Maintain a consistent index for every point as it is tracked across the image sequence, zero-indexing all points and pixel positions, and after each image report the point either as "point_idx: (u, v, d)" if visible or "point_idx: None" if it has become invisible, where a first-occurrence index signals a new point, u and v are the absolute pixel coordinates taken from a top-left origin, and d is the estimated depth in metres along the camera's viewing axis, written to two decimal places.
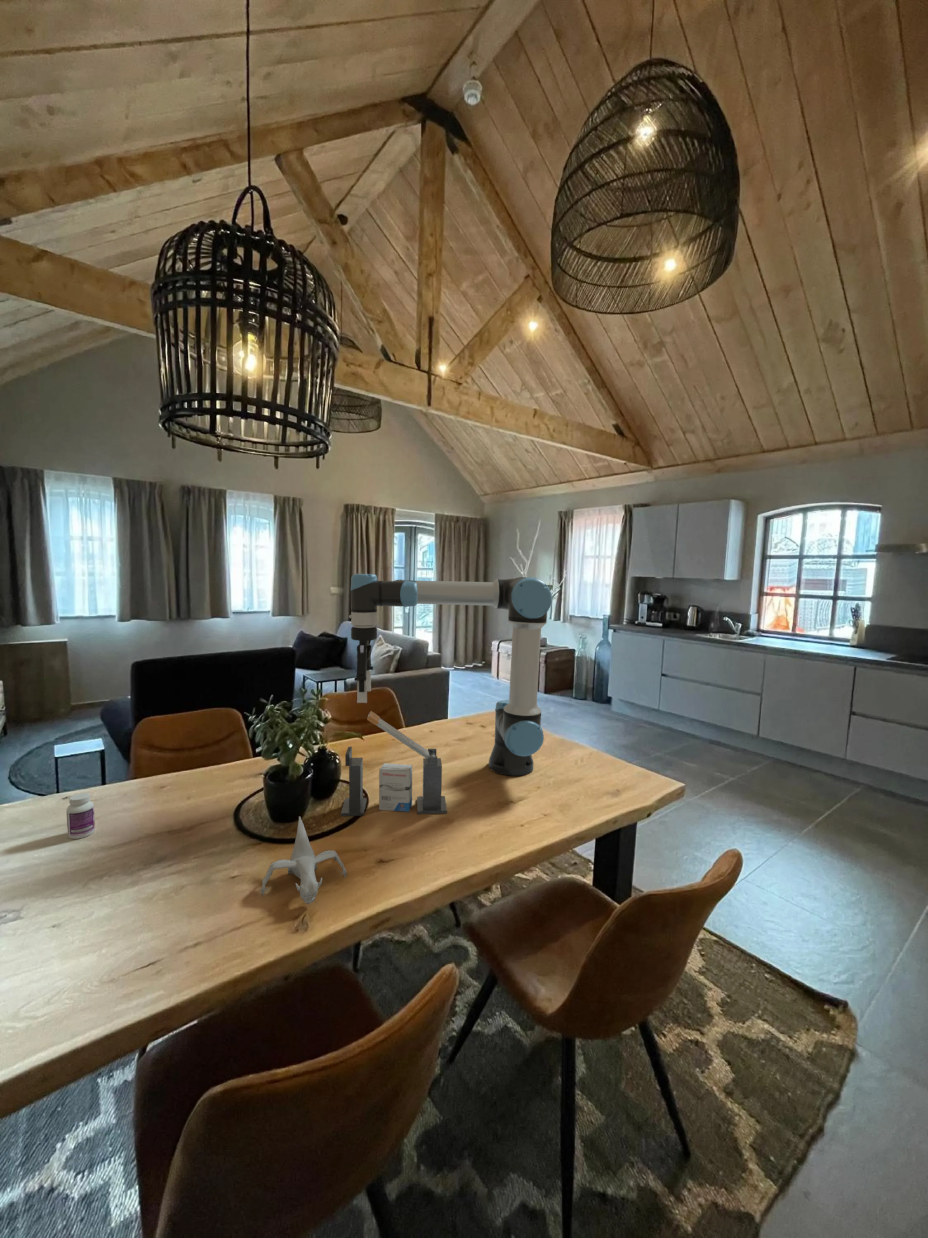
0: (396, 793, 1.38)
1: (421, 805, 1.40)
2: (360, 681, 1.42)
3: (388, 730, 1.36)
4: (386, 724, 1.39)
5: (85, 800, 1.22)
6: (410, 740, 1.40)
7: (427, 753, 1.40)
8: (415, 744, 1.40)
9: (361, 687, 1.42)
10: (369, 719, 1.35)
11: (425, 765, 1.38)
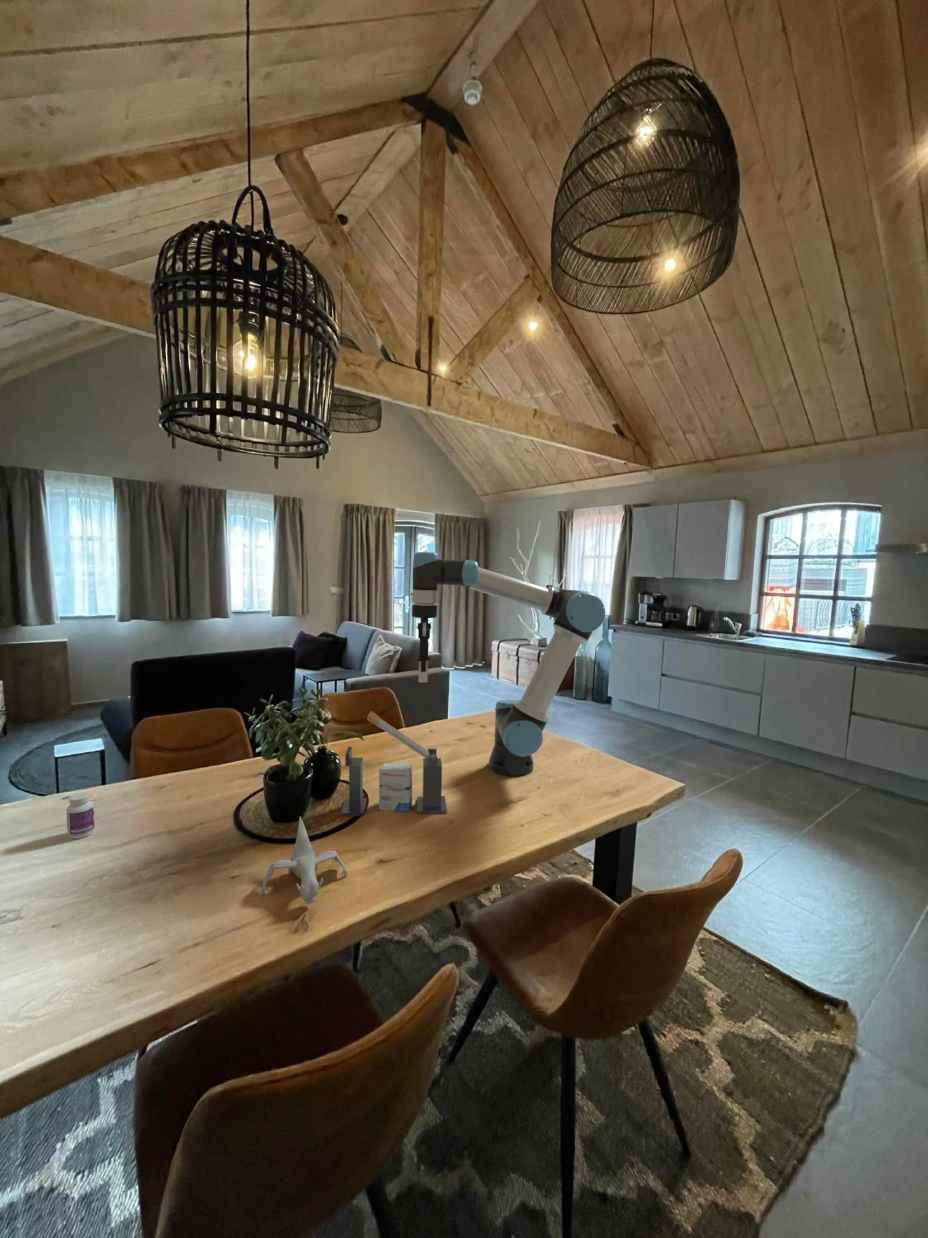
0: (396, 793, 1.38)
1: (421, 805, 1.40)
2: (422, 661, 1.50)
3: (388, 730, 1.36)
4: (386, 724, 1.39)
5: (85, 800, 1.22)
6: (410, 740, 1.40)
7: (427, 753, 1.40)
8: (415, 744, 1.40)
9: (423, 667, 1.50)
10: (369, 719, 1.35)
11: (425, 765, 1.38)
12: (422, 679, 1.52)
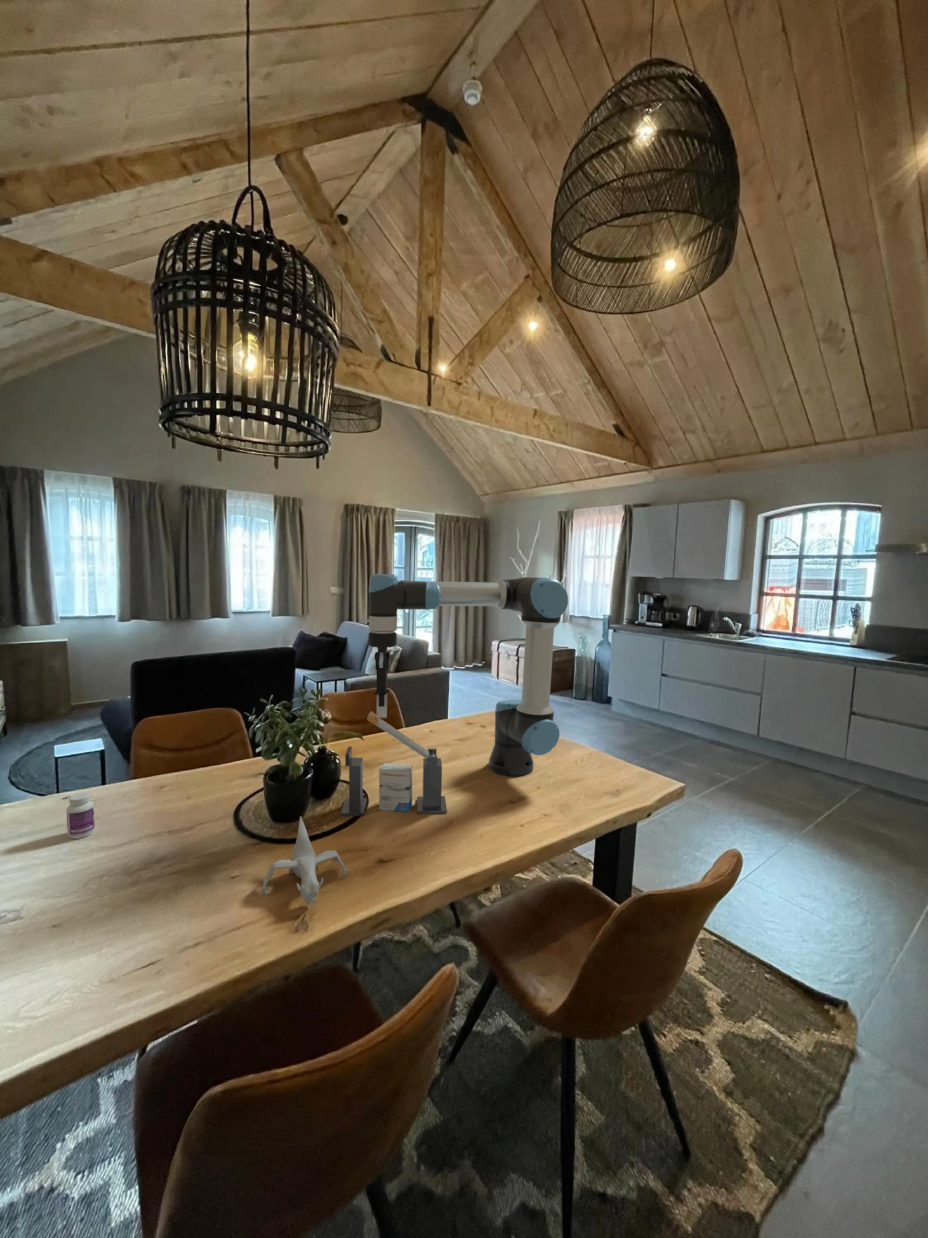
0: (396, 793, 1.38)
1: (421, 805, 1.40)
2: (380, 695, 1.35)
3: (388, 730, 1.36)
4: (386, 724, 1.39)
5: (85, 800, 1.22)
6: (410, 740, 1.40)
7: (427, 753, 1.40)
8: (415, 744, 1.40)
9: (381, 701, 1.36)
10: (369, 719, 1.35)
11: (425, 765, 1.38)
12: (381, 714, 1.37)
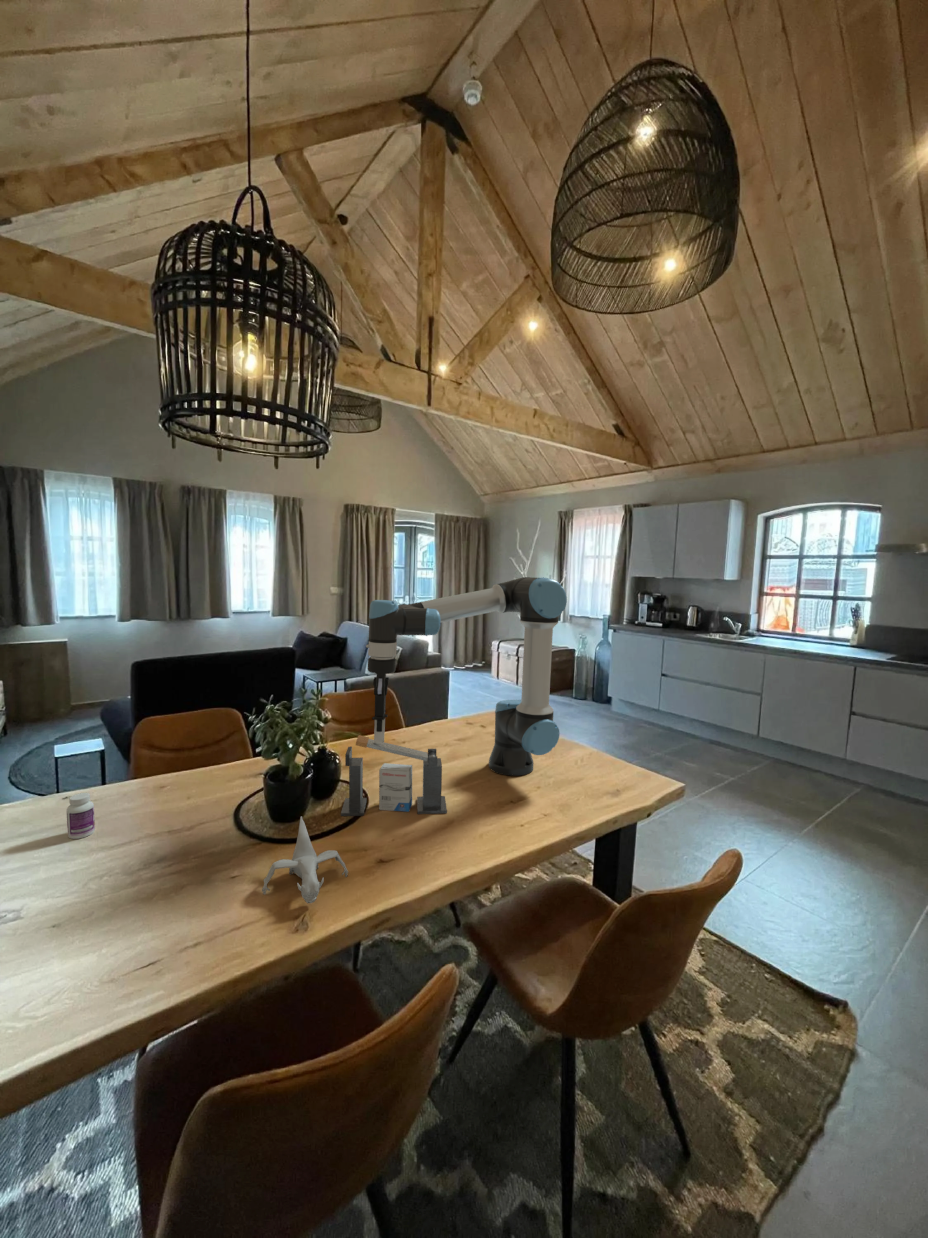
0: (396, 793, 1.38)
1: (421, 805, 1.40)
2: (378, 720, 1.36)
3: (379, 747, 1.37)
4: None
5: (85, 800, 1.22)
6: (405, 749, 1.40)
7: (425, 755, 1.40)
8: (411, 751, 1.40)
9: (379, 727, 1.36)
10: (357, 744, 1.36)
11: (425, 765, 1.38)
12: (378, 739, 1.38)
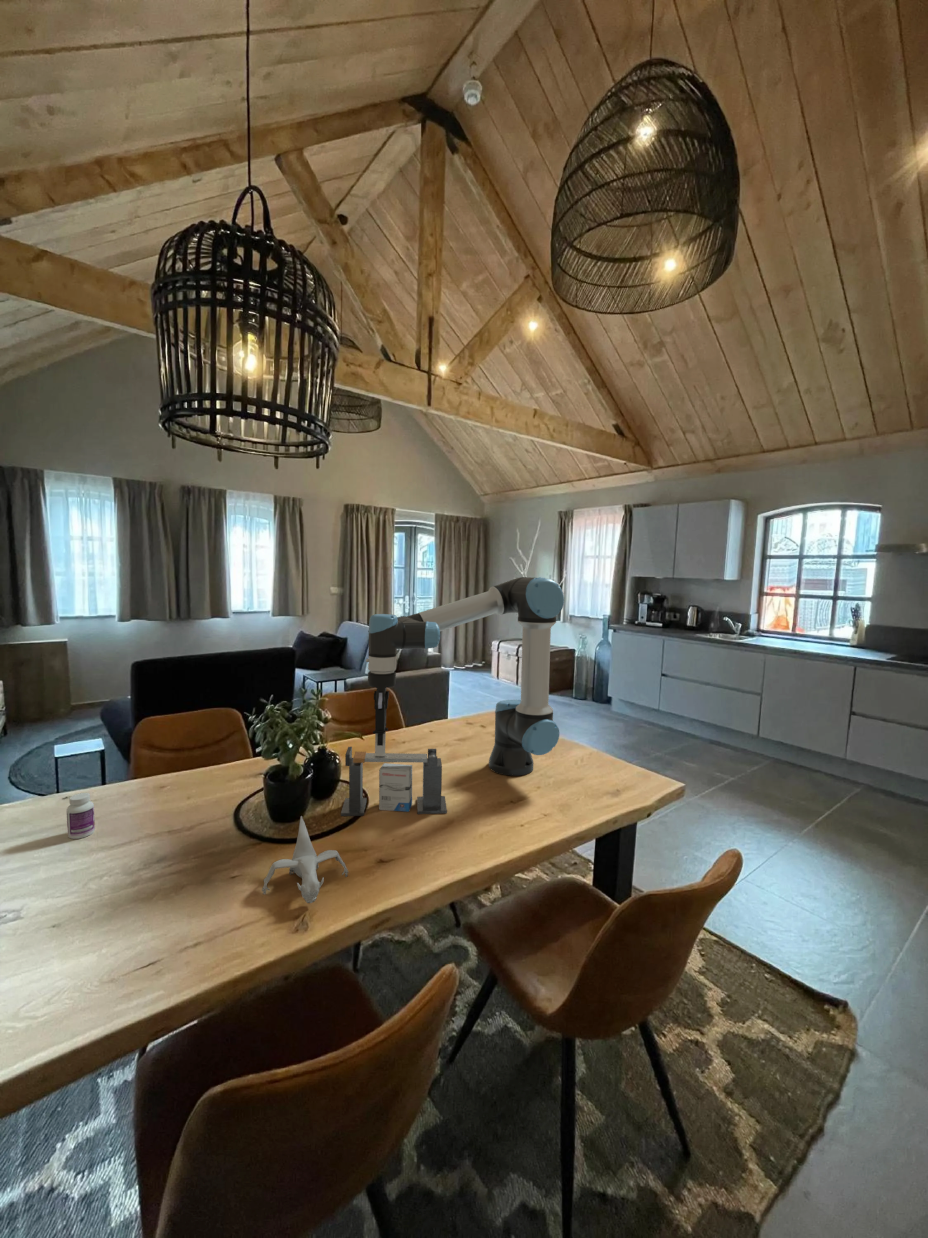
0: (396, 793, 1.38)
1: (421, 805, 1.40)
2: (379, 734, 1.36)
3: (377, 759, 1.37)
4: (374, 755, 1.39)
5: (85, 800, 1.22)
6: (404, 755, 1.40)
7: (425, 757, 1.40)
8: (410, 756, 1.40)
9: (380, 740, 1.37)
10: (355, 761, 1.36)
11: (425, 765, 1.38)
12: (379, 753, 1.38)
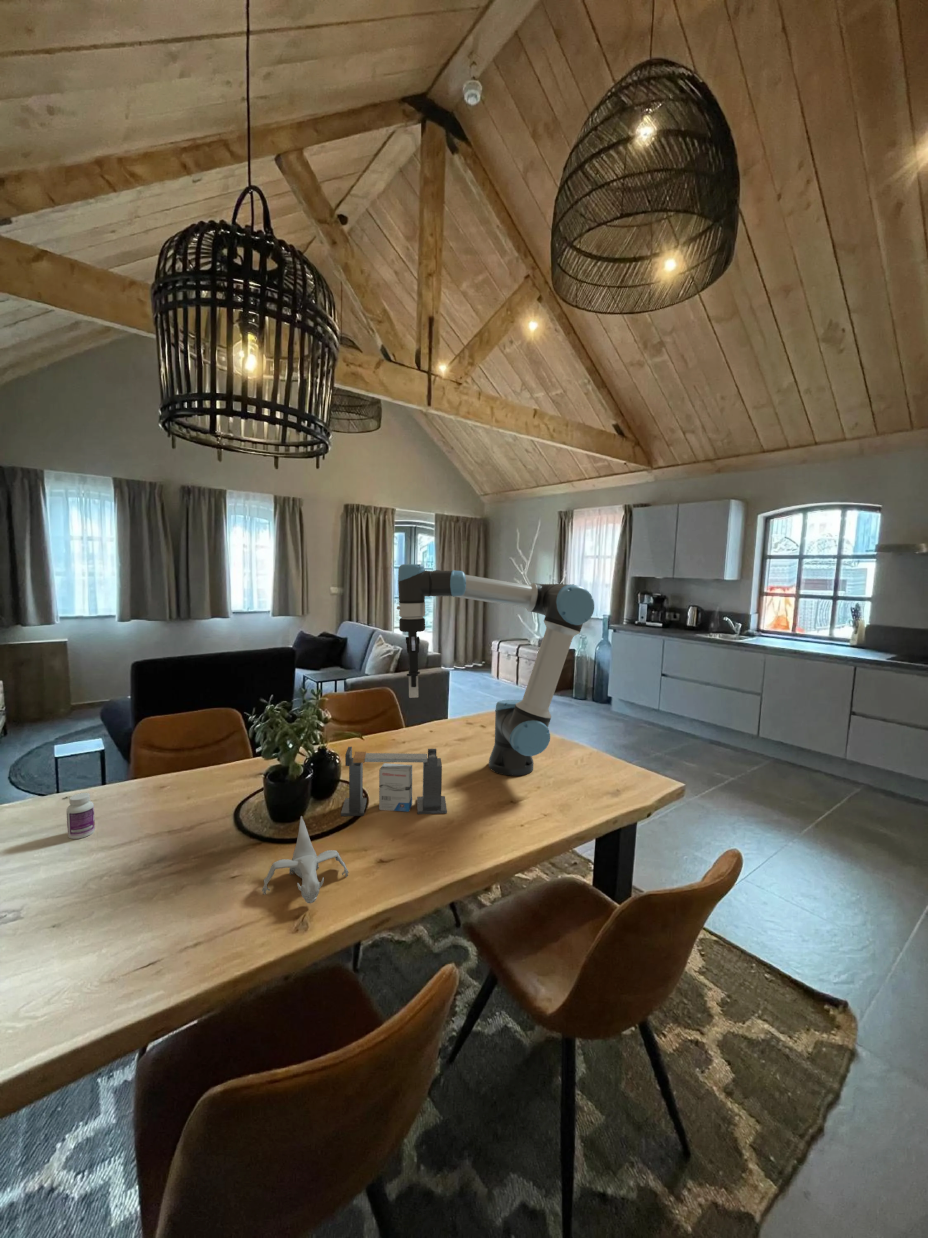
0: (396, 793, 1.38)
1: (421, 805, 1.40)
2: (412, 676, 1.46)
3: (377, 759, 1.37)
4: (374, 755, 1.39)
5: (85, 800, 1.22)
6: (404, 755, 1.40)
7: (425, 757, 1.40)
8: (410, 756, 1.40)
9: (413, 682, 1.46)
10: (355, 761, 1.36)
11: (425, 765, 1.38)
12: (413, 694, 1.48)
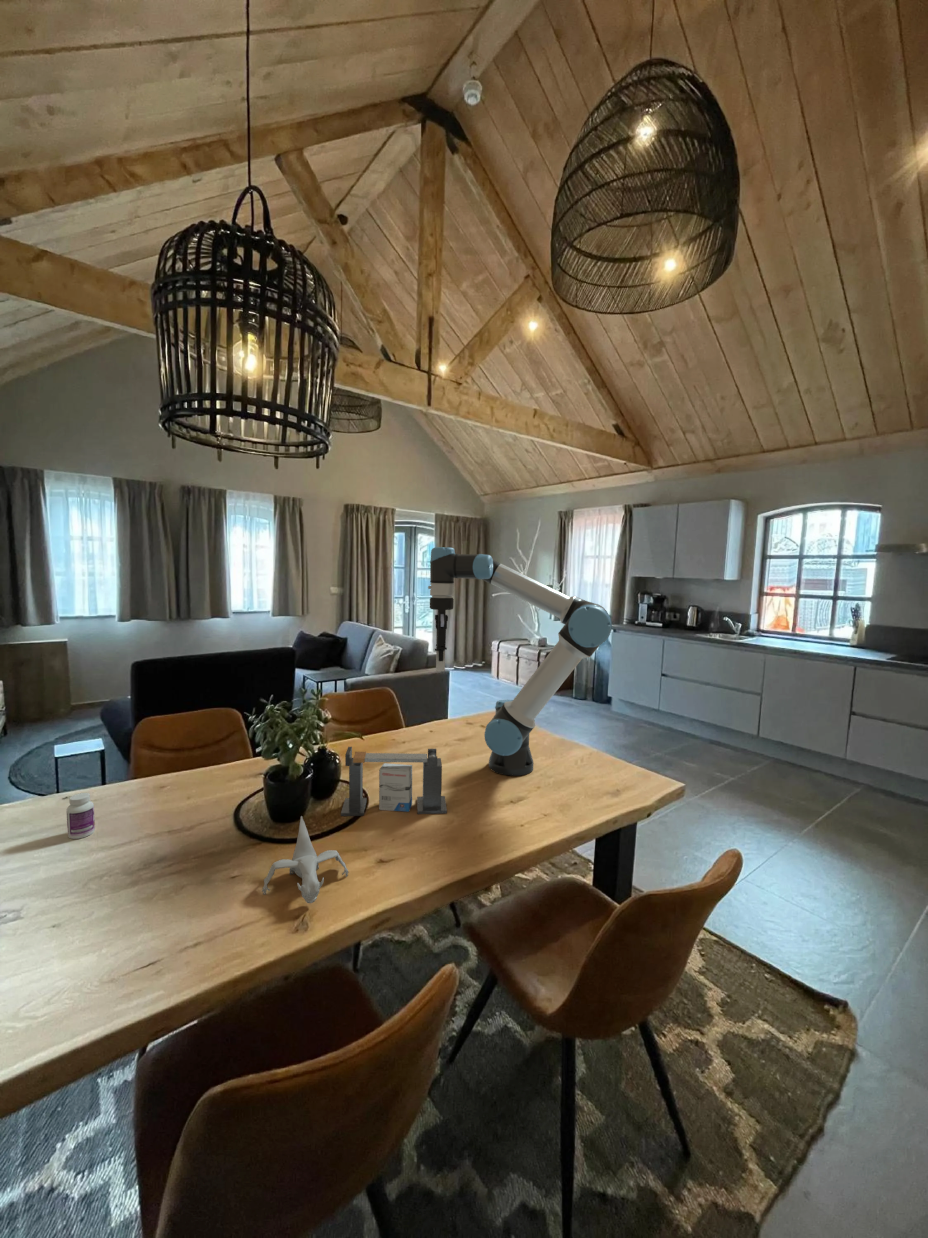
0: (396, 793, 1.38)
1: (421, 805, 1.40)
2: (440, 651, 1.58)
3: (377, 759, 1.37)
4: (374, 755, 1.39)
5: (85, 800, 1.22)
6: (404, 755, 1.40)
7: (425, 757, 1.40)
8: (410, 756, 1.40)
9: (440, 656, 1.58)
10: (355, 761, 1.36)
11: (425, 765, 1.38)
12: (440, 668, 1.60)
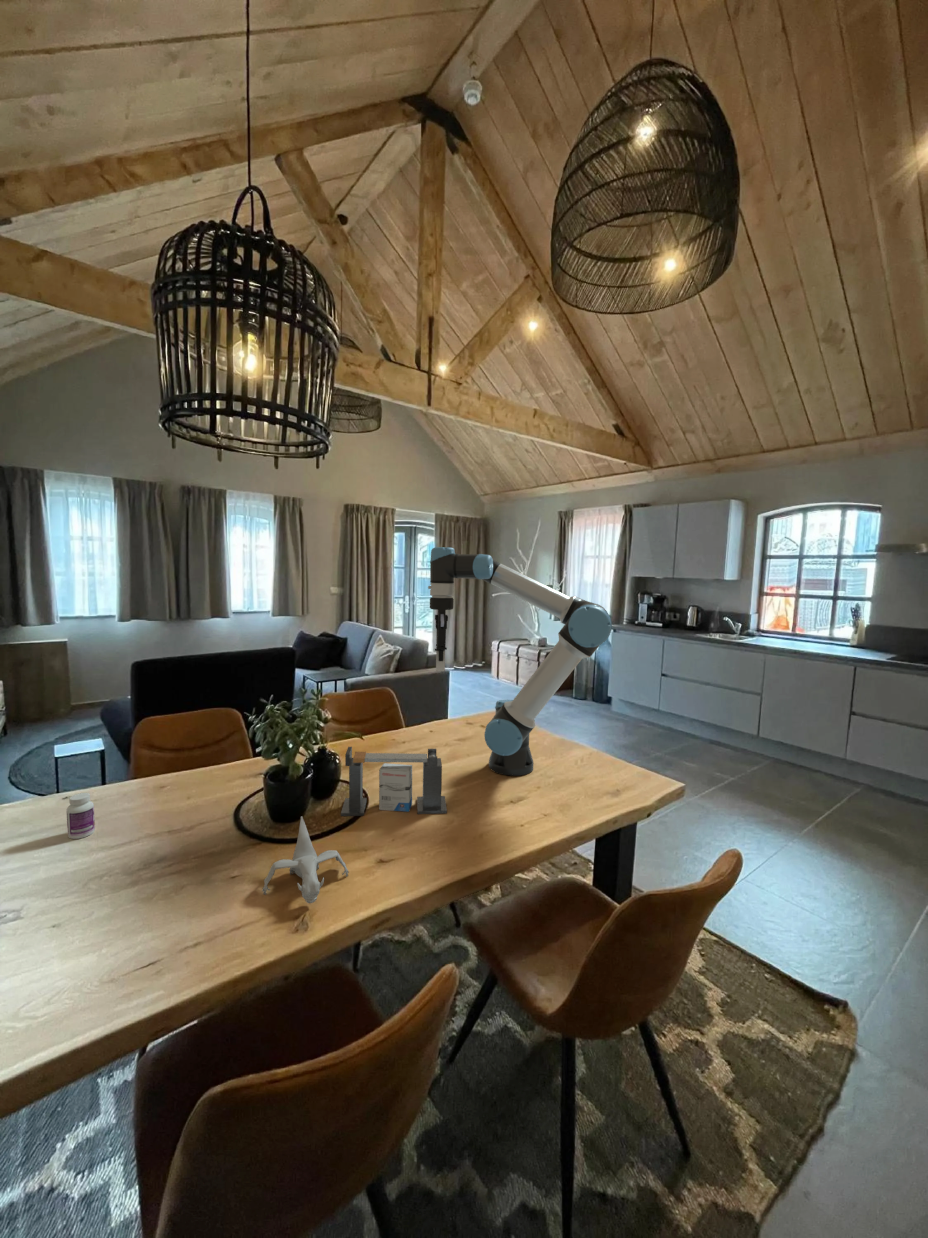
0: (396, 793, 1.38)
1: (421, 805, 1.40)
2: (440, 651, 1.58)
3: (377, 759, 1.37)
4: (374, 755, 1.39)
5: (85, 800, 1.22)
6: (404, 755, 1.40)
7: (425, 757, 1.40)
8: (410, 756, 1.40)
9: (440, 656, 1.58)
10: (355, 761, 1.36)
11: (425, 765, 1.38)
12: (440, 668, 1.60)
